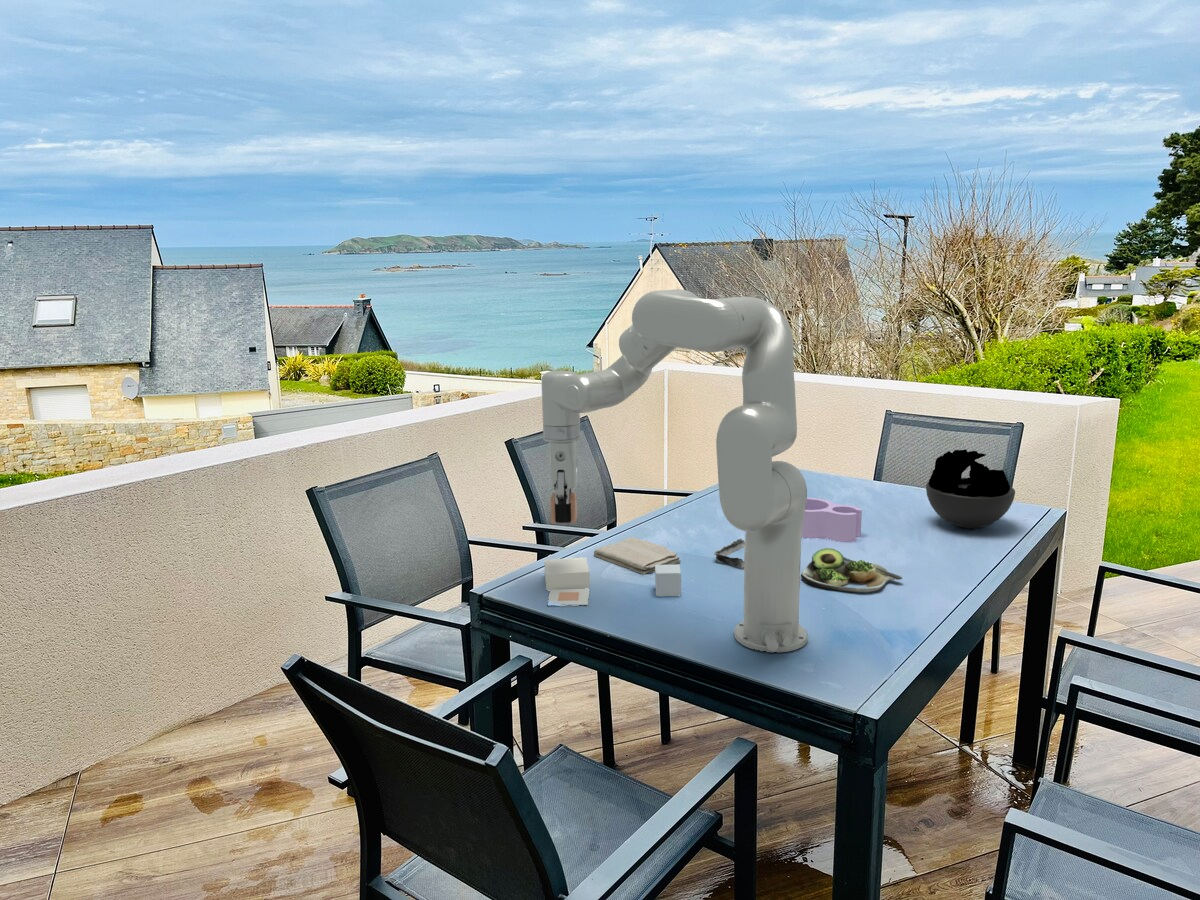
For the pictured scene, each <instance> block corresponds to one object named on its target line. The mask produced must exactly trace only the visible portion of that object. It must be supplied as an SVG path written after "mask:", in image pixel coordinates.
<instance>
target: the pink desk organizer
mask: <svg viewBox="0 0 1200 900" xmlns="http://www.w3.org/2000/svg"><path fill="white" fill-rule="evenodd" d="M862 513H863V509H862V508H860V507H858V506H853V505H850V504H847V505H846V504H838V503H834V502H832V501H830V500H826V499H822V498H816V497H807V502H806V508H805V514H804V519H803V526H802V537H803V538H802V539H807V538H817V539H824V538H828V539H827V540H830V539H831V540H830V541H833V540H835V541H834V542H838V541H840V543H854V542H853V541H855V542H856V538H862V518H863V517H862V516H863V514H862Z"/></svg>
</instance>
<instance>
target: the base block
mask: <svg viewBox="0 0 1200 900" xmlns="http://www.w3.org/2000/svg"><path fill="white" fill-rule="evenodd" d="M590 576H591V575H590V568H589V564H588V560H587V557H586V556H585V557H571V558H567V557H566V558H550V559H547V558H546V559H544V579H545V580H544V581H545V590H551V589H585V588H590V589H591V582H590V581H591V579H590Z"/></svg>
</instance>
